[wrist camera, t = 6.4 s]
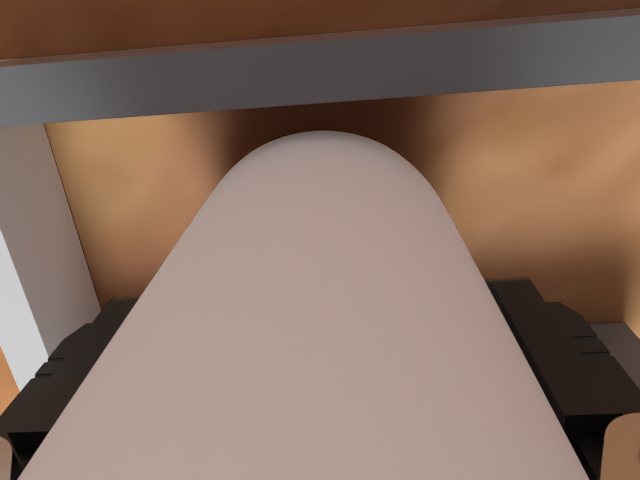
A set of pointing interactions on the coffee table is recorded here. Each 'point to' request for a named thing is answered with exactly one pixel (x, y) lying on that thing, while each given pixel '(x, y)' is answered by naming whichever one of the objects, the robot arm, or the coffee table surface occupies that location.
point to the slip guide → (252, 92)
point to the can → (313, 342)
